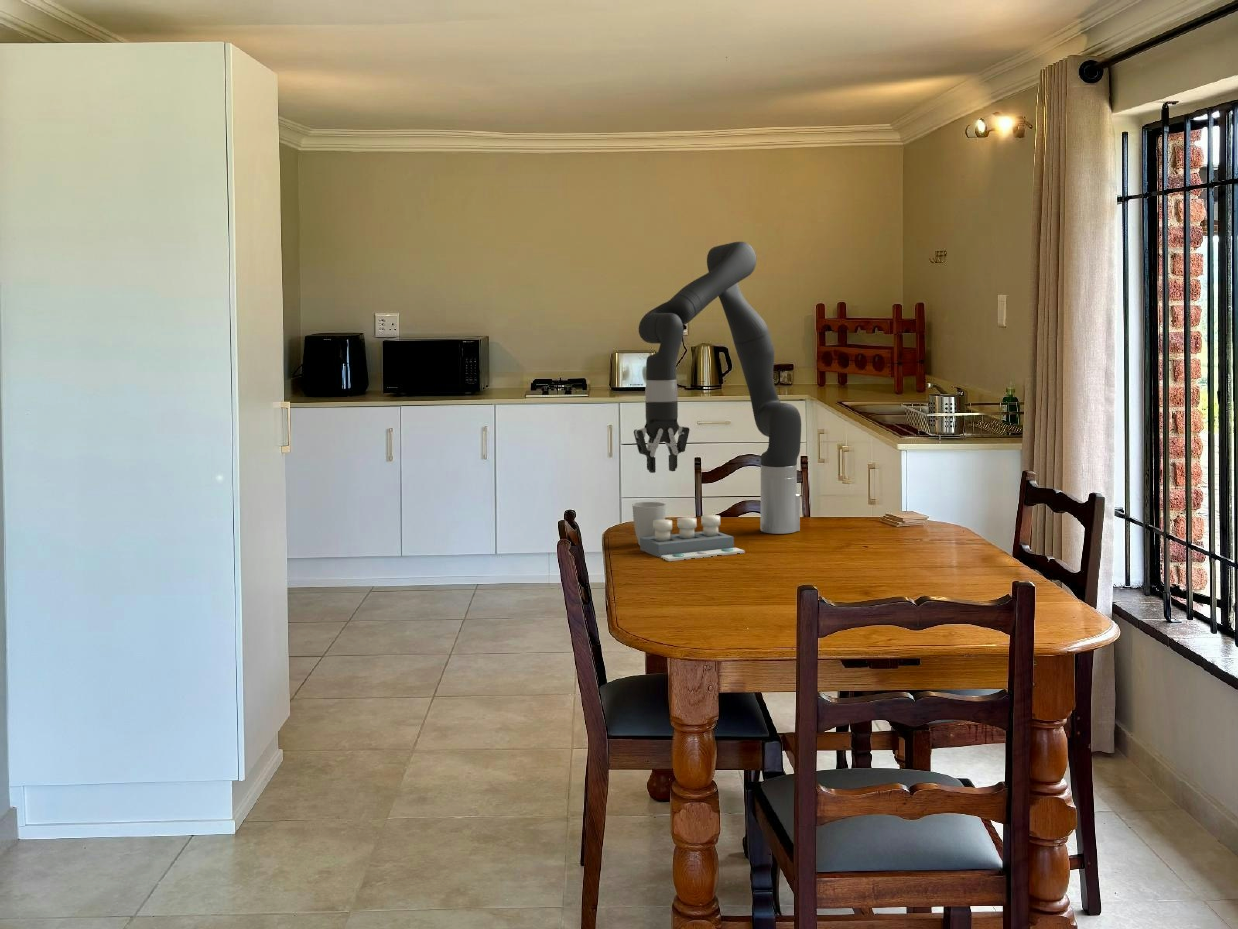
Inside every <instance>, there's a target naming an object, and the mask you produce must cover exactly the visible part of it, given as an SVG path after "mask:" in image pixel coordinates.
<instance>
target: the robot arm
mask: <svg viewBox="0 0 1238 929" xmlns="http://www.w3.org/2000/svg"><path fill="white" fill-rule="evenodd" d="M706 265H707V270H708V272H706V273H705V274H703V275H701V276H700V277H697V278H696V279H694V280H692V281H691V282H689V283H688V284H686V285H685V286H683V288H681V289H680V290H679V291H677V293H675V295H673V296H672V297H671V298H670V299H669V300H667V301H665V302H663V303H661V304H660V305H658V306H656V307H654V308H653V309H651V310H649V311H648V312H647V313H645V314H644V315H643V317H642V318H641V320H640V322H639V324H638V334H639V337H640V338H641V340H643V342H645V343H648V344H660V345H659V347H658V351H657V352H656V353H652V354H651V355H649V356H647V358H646V363H645V365H646V366H645V369H646V370H645V378H646V379H645V380H646V382H645V390H644V391H645V392H644V397H645V399H644V400H645V424H644V427H642V428H639V429H634V430H633V436H634V439H635V442H636V447H637V451H638V453H639V455H643V456H645V457H646V469H647V471H648V472H649V473H650V474H655V473H656V470H657V469H656V466H657V465H656V452H657V449H658V448H659V445H660V444H661V443H662V444H663V443H665V446H666V447H667V450H668V453H669V454H668V471H670V472H676V470H677V468H678V455H679V454H681V453H684V452H685V451H686V447H687V442H688V440H689V434H690V431H691V430H690V428H689V427H687V426H681V425H680V424H679V423H678V416H679V415H678V414H679V413H678V410H679V408H678V407H679V406H678V402H679V401H678V400H679V399H678V398H679V394H678V384H677V383H678V382H677V361H678V357H679V353H680V349H681V345H682V341H683V336H684V325H687V324H688V323H690V322H691V321H692V320H694V319H695V318H696V317H697V316H698V315H699V314H700V313H701V312H702V311H703V310H704V309H705V308H706V307H707V306H708V305H709V304H711V303H712V302H713V301H714V300H715V299H717V298H719V301H720V304H721V306H722V309H723V312H724V314H725V319H726V320H727V323H728V327H729V330H730V333H731V337H732V341H733V345H734V347H735V351H736V354H737V357H738V359H739V363H740V366H741V368H742V369H741V370H742V373H743V376H744V379H745V382H746V386H747V388H748V393H749V398H750V403H751V407H752V408H751V409H752V413H753V419H754V421H755V422H754V423H755V426H756V428H757V430H758V431H759V432H760V433H761V435H763V436H765V437H768V444H767V445H768V446H767V450H766V451H764V452H763V453H762V454H761V455H760V522H759V523H760V531H761V532H762V533H765V534H774V535H775V534H777V535H778V534H780V535H782V534H784V535H785V534H791V533H792V534H793V533H795V532H799V531H801V530H800V529H801V526H800V525H801V519H800V518H801V516H800V515H801V494H799V493H797V490H798V488H797V485H798V484H797V478H798V476H797V475H798V469H797V468H798V467H797V466H798V458H799V456H800V452H801V441H802V440H801V438H802V419H801V418H802V417H801V414H800V411H799V410H798V408H797V406H795V405H793V404H791V403H788V402H781V400H780V398H779V396H778V392H777V389H776V387H775V383H774V382H775V381H774V364H775V348H774V343H773V340H772V336H771V334H770V330H769V327H768V325H767V323H766V322H765V321H764V319H763V318H762V317H761V315H760V314H759V313H758V312H757V311H756V309H754V308H753V307H752V306H751V305H750V303H749V302H748V301H747V300H746V299H745V297H744V295H743V293H742V291H741V289H740V286H739V283H740V282H741V281H743V280H745V279H746V278H748V277H750V276H751V275H752V274H753V272H754V271H755V269H756V266H757V256H756V252H755V250H754V248H753V247H752V246H751V244H750V243H747V242H745V241H733V242H730V243H724V244H721V245H716V246H713V247H711V248H710V249H709V251H708V252H707V256H706ZM646 434H647V436H648V439H647V443H646ZM676 434H677V435H678V438H677V440H676V438H675V436H676Z"/></svg>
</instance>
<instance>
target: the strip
mask: <svg viewBox="0 0 1238 929" xmlns="http://www.w3.org/2000/svg"><path fill="white" fill-rule="evenodd" d="M737 553H740V554H745V553H746V551H745V549H742V548H741V549H740V548H738V547H734V548H725V549H718V550H709V551H698V552H690V553H681V554H672V555H662V556H661V557H660V558H661V559H662V558H663V559H662V560H664V559H665V561H667V562H677V561H683V560H684V559H686V560H692V559H691V558H695V559H701V558H703V557H704V558H711V556H713V557H718V556H717V555H722V556H729V555H737ZM704 558H703V559H704ZM684 561H685V560H684Z"/></svg>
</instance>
